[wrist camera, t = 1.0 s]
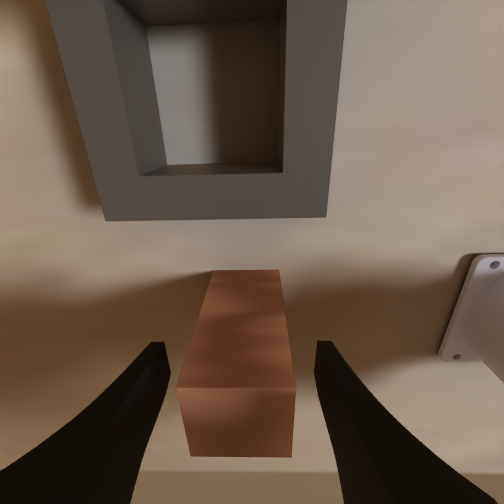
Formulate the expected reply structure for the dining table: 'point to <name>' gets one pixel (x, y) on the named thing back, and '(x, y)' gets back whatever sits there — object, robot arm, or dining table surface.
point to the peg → (239, 370)
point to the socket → (148, 120)
